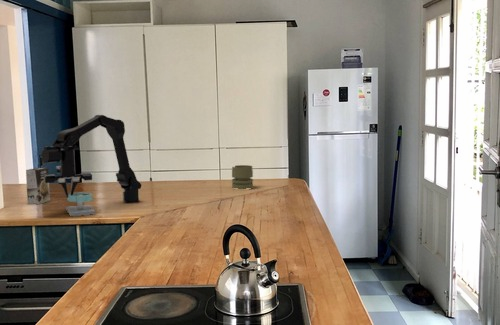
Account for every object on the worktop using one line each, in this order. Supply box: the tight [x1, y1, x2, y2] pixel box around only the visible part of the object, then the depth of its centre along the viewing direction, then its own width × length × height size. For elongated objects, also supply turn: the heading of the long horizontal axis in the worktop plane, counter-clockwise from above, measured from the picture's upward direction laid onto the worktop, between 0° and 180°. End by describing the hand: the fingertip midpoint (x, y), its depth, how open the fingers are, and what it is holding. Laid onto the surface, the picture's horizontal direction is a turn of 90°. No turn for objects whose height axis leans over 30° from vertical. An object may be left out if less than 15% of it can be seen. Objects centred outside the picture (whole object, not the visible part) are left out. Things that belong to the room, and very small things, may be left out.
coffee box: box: [25, 167, 51, 205], centre depth 247 cm, size 9×6×16 cm
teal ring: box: [66, 192, 93, 203], centre depth 223 cm, size 10×10×2 cm
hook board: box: [65, 195, 96, 217], centre depth 223 cm, size 10×15×8 cm, turn 25°
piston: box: [231, 164, 254, 189], centre depth 284 cm, size 11×12×11 cm
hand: (69, 197), depth 221 cm, fingers closed on teal ring, 1 cm apart
